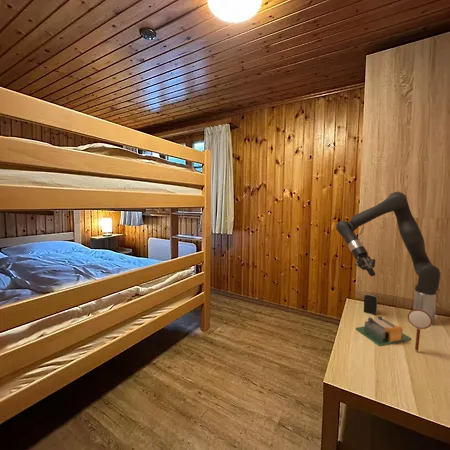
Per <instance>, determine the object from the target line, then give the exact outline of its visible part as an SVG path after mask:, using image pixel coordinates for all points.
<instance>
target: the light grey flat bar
mask: <svg viewBox="0 0 450 450" xmlns="http://www.w3.org/2000/svg"><path fill="white" fill-rule="evenodd" d="M372 319H373V321H374V322H375V323H377V324H378V325H380V326H381V327H383V328H384V329H385V327H388V328H392V327H391V326H390V325H388V324H387V323H385V322H383V321H382V320H380V319H379V318H378V317H377V318H372Z"/></svg>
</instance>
